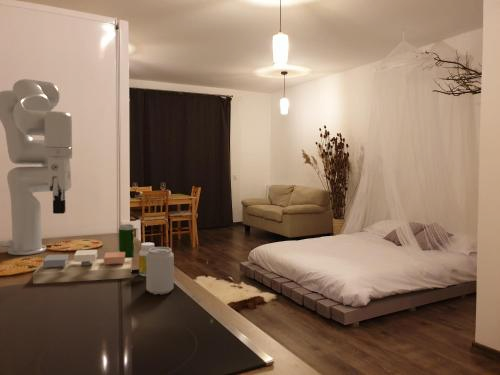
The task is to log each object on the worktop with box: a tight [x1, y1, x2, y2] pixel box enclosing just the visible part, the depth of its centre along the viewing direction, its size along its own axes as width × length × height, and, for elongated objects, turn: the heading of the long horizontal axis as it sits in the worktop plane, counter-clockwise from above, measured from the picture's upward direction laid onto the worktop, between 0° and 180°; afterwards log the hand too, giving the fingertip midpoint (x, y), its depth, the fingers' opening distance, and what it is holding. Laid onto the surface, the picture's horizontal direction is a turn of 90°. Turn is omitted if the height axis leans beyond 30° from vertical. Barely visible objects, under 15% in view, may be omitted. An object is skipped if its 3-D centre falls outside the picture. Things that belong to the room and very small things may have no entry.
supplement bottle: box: [138, 242, 155, 277], centre depth 125 cm, size 5×5×10 cm
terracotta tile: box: [103, 251, 125, 265], centre depth 125 cm, size 6×6×4 cm
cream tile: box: [73, 249, 98, 265], centre depth 123 cm, size 6×6×4 cm
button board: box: [32, 258, 133, 285], centre depth 123 cm, size 27×12×3 cm, turn 106°
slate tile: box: [42, 253, 70, 268], centre depth 121 cm, size 6×6×4 cm
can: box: [145, 246, 175, 295], centre depth 111 cm, size 8×8×12 cm
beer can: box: [117, 223, 135, 260], centre depth 141 cm, size 5×5×12 cm
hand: (59, 212), depth 122 cm, fingers closed
